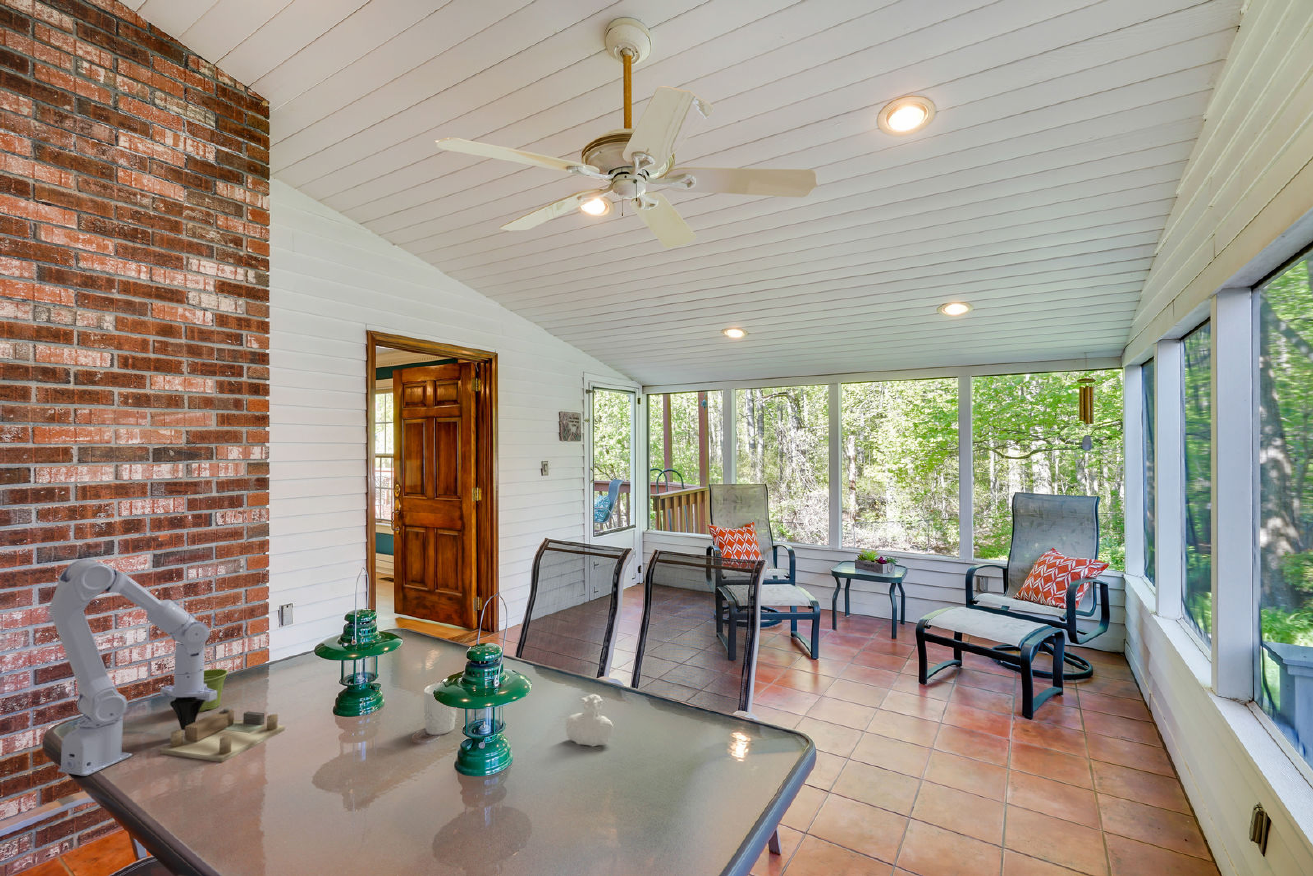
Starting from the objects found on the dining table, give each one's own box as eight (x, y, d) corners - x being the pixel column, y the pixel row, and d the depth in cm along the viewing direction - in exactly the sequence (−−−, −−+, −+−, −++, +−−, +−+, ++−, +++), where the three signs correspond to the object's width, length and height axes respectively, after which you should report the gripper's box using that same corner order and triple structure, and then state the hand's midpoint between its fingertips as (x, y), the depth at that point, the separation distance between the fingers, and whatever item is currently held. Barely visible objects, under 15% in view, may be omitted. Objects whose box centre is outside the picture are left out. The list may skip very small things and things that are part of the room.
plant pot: (210, 715, 161) (211, 681, 162) (174, 714, 161) (175, 680, 162) (235, 701, 171) (236, 669, 171) (201, 700, 171) (202, 668, 171)
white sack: (613, 753, 146) (624, 704, 153) (604, 744, 141) (615, 693, 148) (567, 746, 150) (579, 698, 157) (556, 737, 144) (569, 688, 151)
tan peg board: (222, 762, 136) (223, 743, 136) (160, 753, 140) (161, 735, 140) (285, 729, 153) (285, 713, 153) (228, 722, 156) (228, 706, 157)
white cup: (462, 723, 157) (462, 683, 158) (448, 737, 149) (449, 694, 150) (432, 721, 158) (432, 682, 158) (417, 735, 150) (418, 693, 150)
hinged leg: (225, 721, 154) (226, 706, 154) (237, 722, 154) (237, 707, 154) (184, 739, 144) (185, 723, 144) (196, 741, 143) (197, 725, 143)
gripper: (229, 667, 152) (227, 724, 151) (181, 663, 155) (179, 718, 154) (202, 677, 145) (200, 737, 144) (152, 672, 148) (150, 730, 147)
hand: (187, 728), depth 149 cm, fingers closed
